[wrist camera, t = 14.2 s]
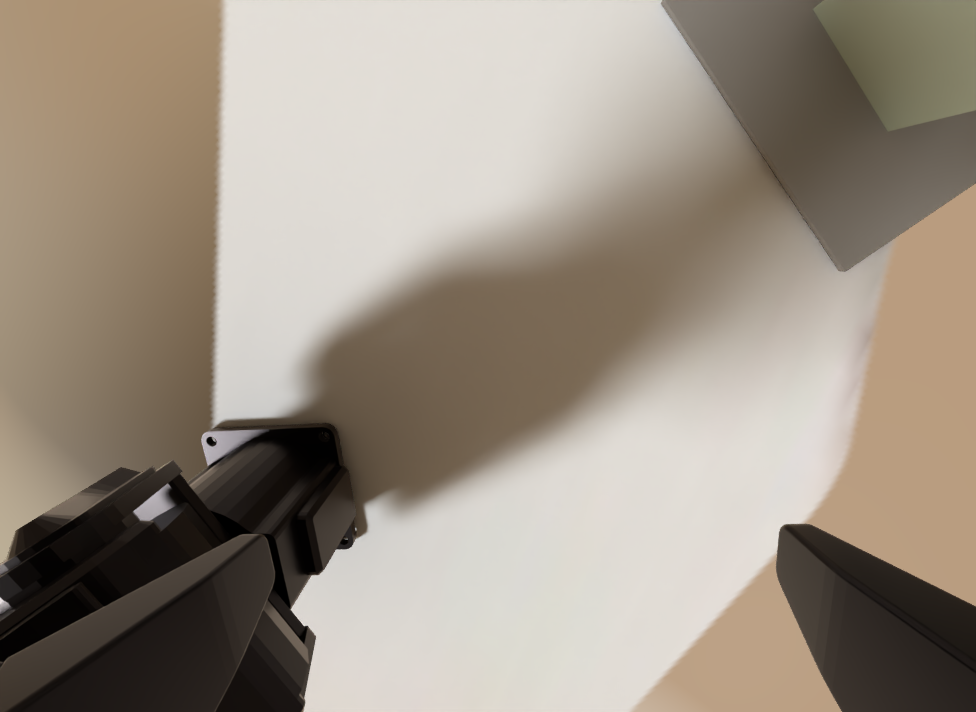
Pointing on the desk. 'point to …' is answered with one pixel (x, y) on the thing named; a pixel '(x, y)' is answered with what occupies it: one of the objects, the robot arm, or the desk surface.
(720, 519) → the desk surface
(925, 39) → the sage block
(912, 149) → the slate mat
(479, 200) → the desk surface
